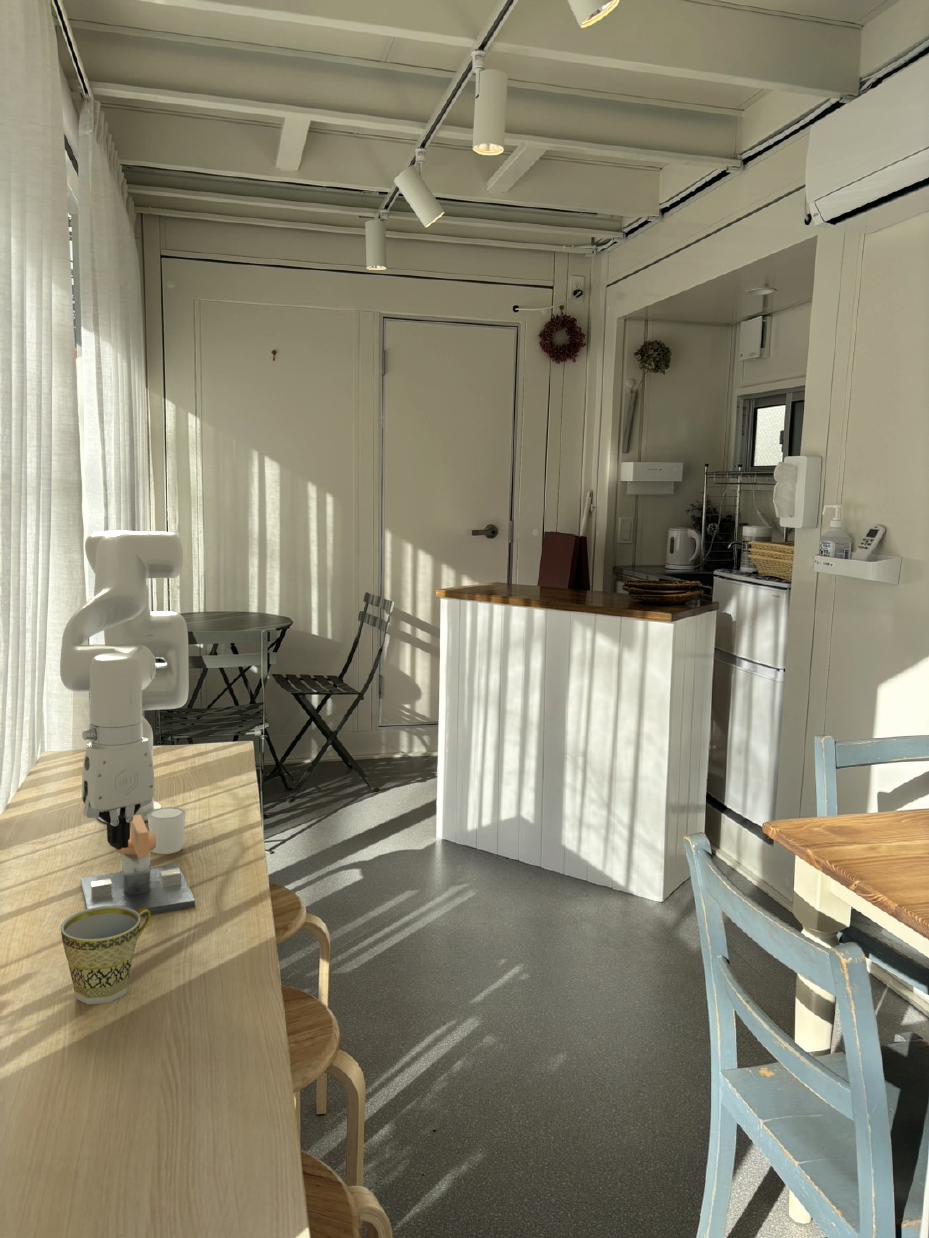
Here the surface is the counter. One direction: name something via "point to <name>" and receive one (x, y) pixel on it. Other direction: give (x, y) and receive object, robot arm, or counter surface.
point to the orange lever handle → (139, 839)
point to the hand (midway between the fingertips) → (118, 846)
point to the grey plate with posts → (139, 887)
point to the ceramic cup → (101, 950)
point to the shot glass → (167, 829)
